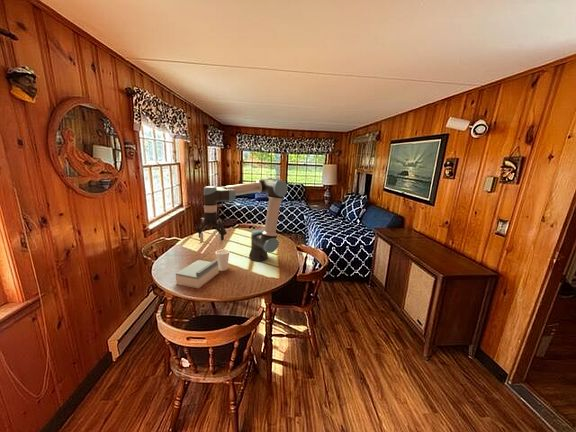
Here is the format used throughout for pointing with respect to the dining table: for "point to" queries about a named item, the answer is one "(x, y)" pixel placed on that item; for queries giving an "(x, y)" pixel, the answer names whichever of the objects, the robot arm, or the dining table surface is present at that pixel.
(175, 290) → the dining table surface
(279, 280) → the dining table surface
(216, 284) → the dining table surface
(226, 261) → the foam cup
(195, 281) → the box
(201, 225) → the robot arm
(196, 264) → the lid
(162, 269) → the dining table surface
